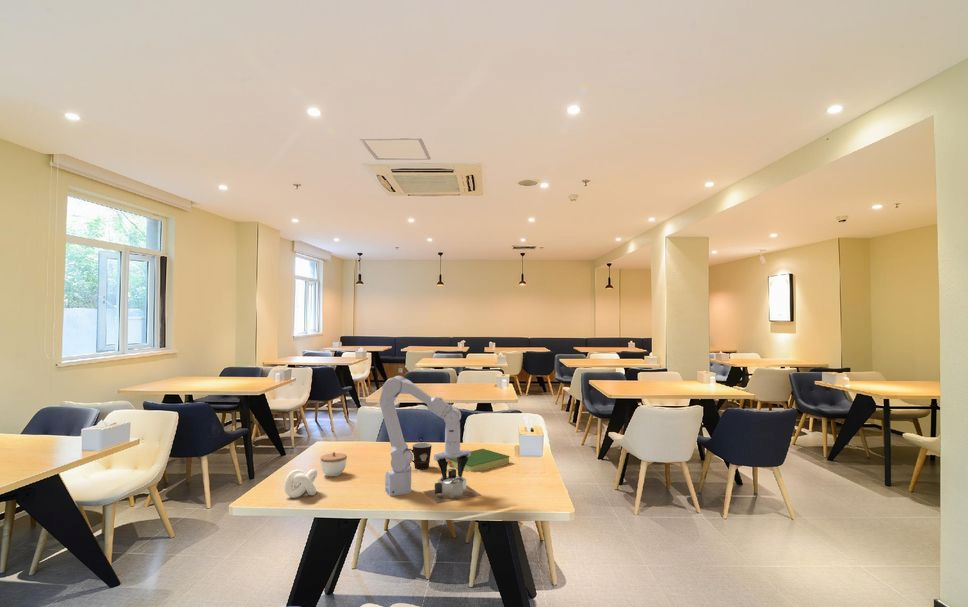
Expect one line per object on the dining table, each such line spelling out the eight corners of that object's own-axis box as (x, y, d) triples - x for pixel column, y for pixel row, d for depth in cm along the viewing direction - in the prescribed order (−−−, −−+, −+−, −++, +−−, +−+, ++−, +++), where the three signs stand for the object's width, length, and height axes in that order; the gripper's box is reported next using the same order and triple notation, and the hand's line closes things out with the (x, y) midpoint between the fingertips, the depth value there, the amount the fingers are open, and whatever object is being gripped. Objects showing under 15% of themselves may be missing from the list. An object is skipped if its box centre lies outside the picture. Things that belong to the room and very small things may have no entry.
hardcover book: (482, 456, 235) (482, 448, 235) (509, 464, 222) (509, 456, 222) (442, 465, 218) (443, 457, 219) (469, 475, 205) (469, 466, 205)
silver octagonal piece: (440, 500, 170) (440, 486, 170) (430, 492, 179) (430, 478, 179) (469, 495, 176) (469, 481, 176) (458, 487, 184) (458, 474, 185)
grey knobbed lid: (447, 487, 173) (447, 473, 173) (439, 481, 179) (439, 468, 180) (465, 484, 176) (465, 471, 177) (456, 479, 183) (456, 466, 183)
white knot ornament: (282, 502, 170) (282, 476, 170) (286, 491, 181) (286, 467, 182) (315, 499, 173) (316, 474, 173) (317, 488, 184) (317, 465, 185)
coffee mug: (433, 465, 217) (433, 443, 218) (429, 470, 209) (429, 447, 209) (408, 464, 218) (408, 442, 219) (403, 469, 210) (403, 446, 210)
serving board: (437, 505, 167) (437, 503, 167) (422, 493, 179) (422, 491, 179) (481, 497, 176) (482, 495, 176) (465, 486, 188) (465, 484, 188)
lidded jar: (319, 479, 196) (319, 456, 196) (321, 471, 206) (321, 450, 207) (346, 477, 199) (346, 454, 199) (346, 470, 209) (347, 448, 209)
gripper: (439, 445, 172) (438, 483, 171) (474, 441, 179) (474, 477, 178) (431, 441, 178) (431, 478, 177) (466, 437, 185) (465, 472, 184)
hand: (452, 477), depth 178 cm, fingers open, 6 cm apart
